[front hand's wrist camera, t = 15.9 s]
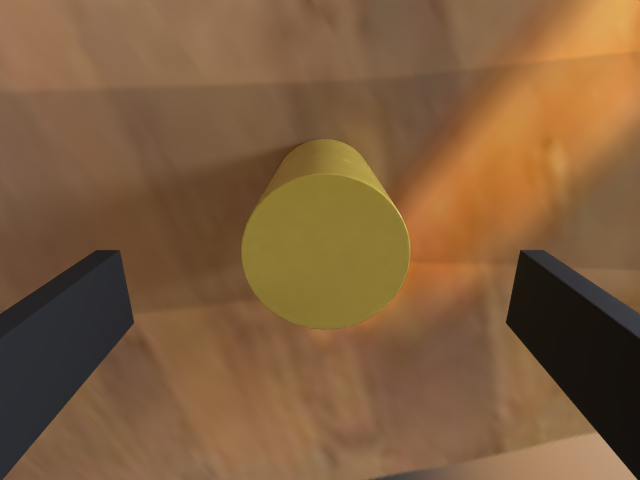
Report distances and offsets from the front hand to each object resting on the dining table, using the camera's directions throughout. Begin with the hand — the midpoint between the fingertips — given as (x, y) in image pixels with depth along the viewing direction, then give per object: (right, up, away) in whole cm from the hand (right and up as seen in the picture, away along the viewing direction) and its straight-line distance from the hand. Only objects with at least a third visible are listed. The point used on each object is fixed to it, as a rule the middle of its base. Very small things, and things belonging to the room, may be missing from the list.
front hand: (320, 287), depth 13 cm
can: (0, +5, +12) cm, 13 cm away
